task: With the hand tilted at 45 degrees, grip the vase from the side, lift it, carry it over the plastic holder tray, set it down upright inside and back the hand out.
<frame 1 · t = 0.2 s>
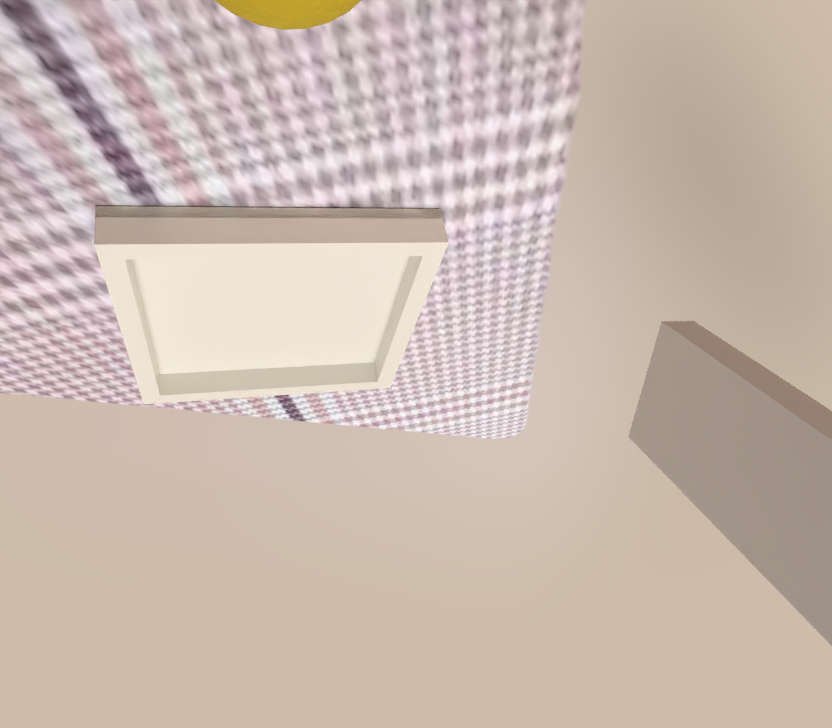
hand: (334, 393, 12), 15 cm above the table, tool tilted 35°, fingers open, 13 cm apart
holder tray: (274, 301, 36), on the table
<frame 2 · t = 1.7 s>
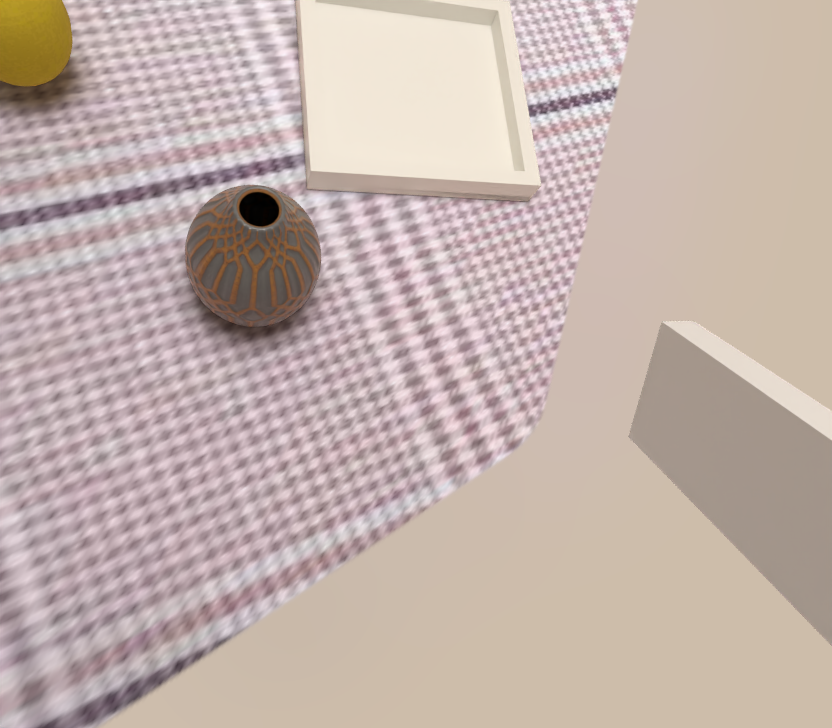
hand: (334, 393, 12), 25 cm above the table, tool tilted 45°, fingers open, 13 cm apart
vase: (251, 286, 39), on the table
holder tray: (411, 98, 46), on the table
lemon: (32, 77, 39), on the table
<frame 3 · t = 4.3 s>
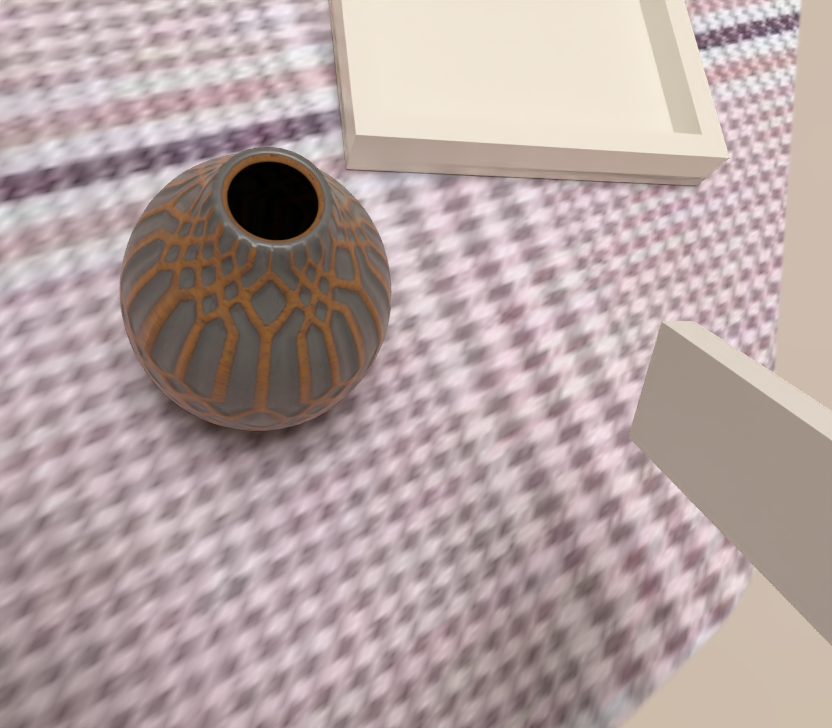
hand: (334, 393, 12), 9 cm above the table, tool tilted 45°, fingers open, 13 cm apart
vase: (255, 345, 21), on the table
holder tray: (505, 22, 28), on the table
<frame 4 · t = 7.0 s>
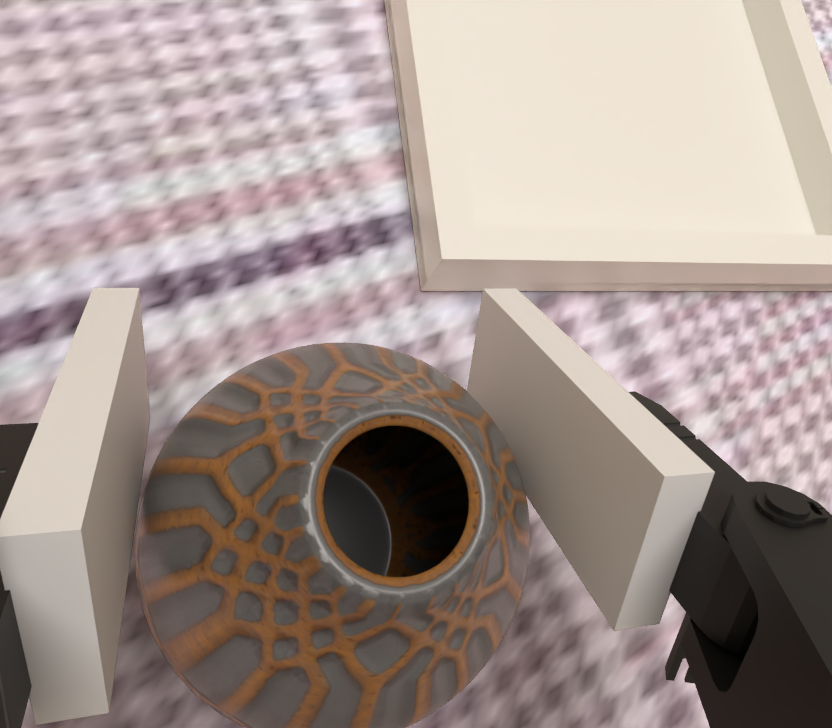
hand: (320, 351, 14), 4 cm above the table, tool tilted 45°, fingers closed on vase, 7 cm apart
vase: (311, 544, 16), on the table, touching gripper
holder tray: (604, 89, 23), on the table
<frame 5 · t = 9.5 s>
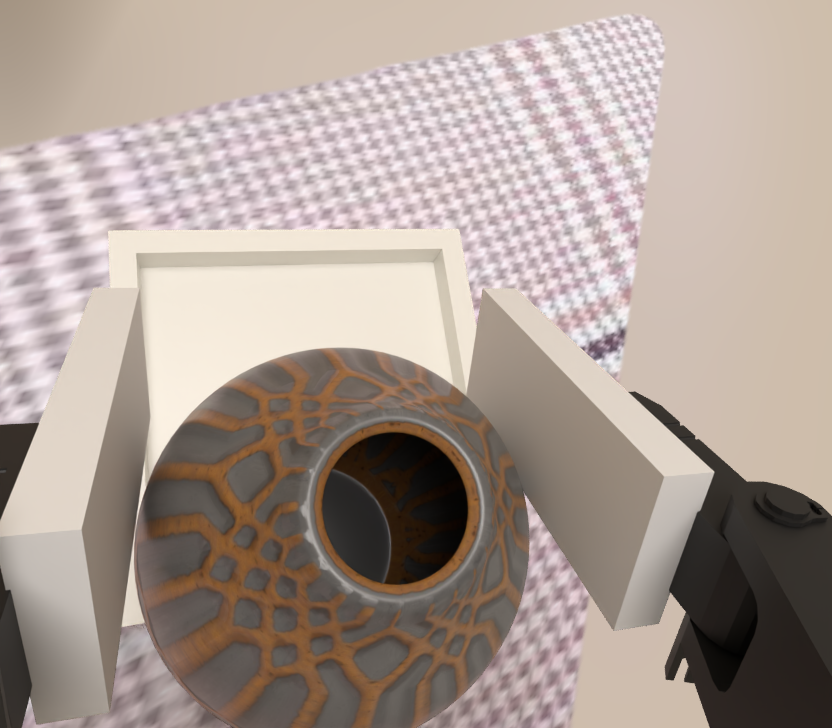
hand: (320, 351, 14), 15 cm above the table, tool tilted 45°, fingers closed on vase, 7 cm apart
vase: (310, 548, 16), point 12 cm above the table, touching gripper
holder tray: (309, 408, 29), on the table
when the fingers open (5 cm above the table, at t = 12.5 s): vase drops 1 cm, resting on holder tray.
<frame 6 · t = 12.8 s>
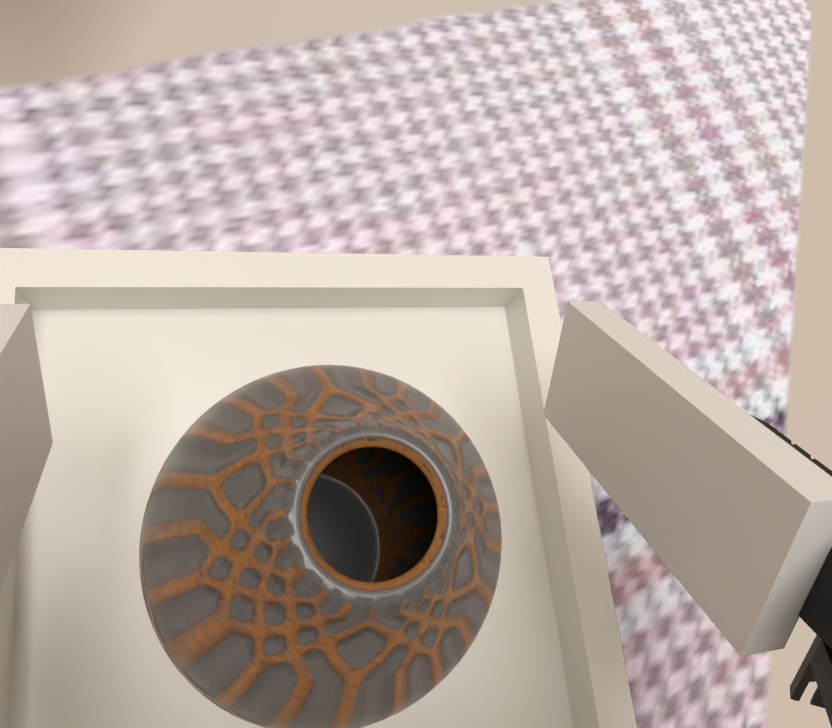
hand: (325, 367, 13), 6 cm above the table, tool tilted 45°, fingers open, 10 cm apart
vase: (303, 549, 17), resting on holder tray
holder tray: (304, 547, 18), on the table
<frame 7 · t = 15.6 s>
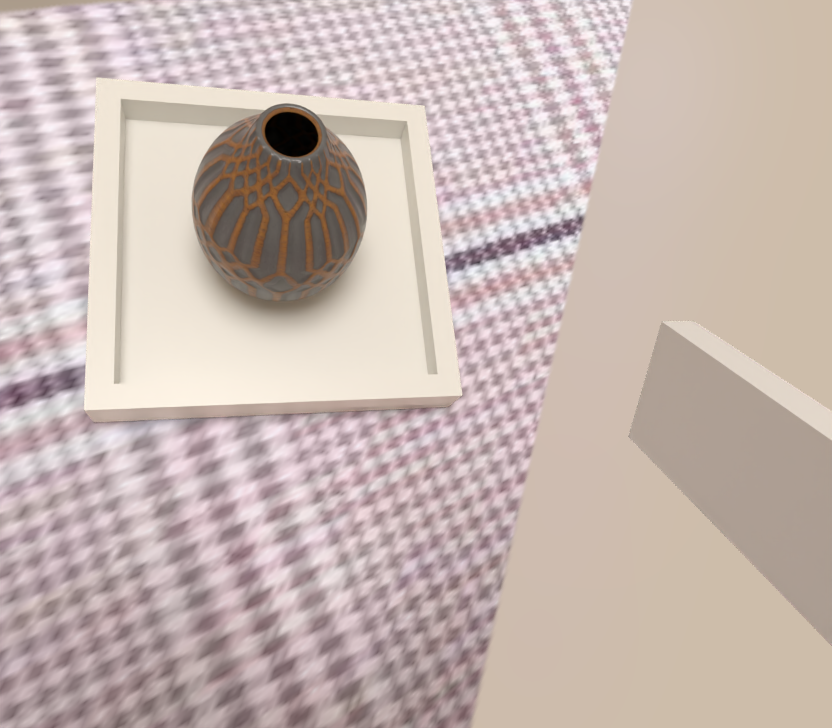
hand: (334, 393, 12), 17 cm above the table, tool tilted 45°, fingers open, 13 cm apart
vase: (275, 254, 31), resting on holder tray
holder tray: (275, 256, 31), on the table
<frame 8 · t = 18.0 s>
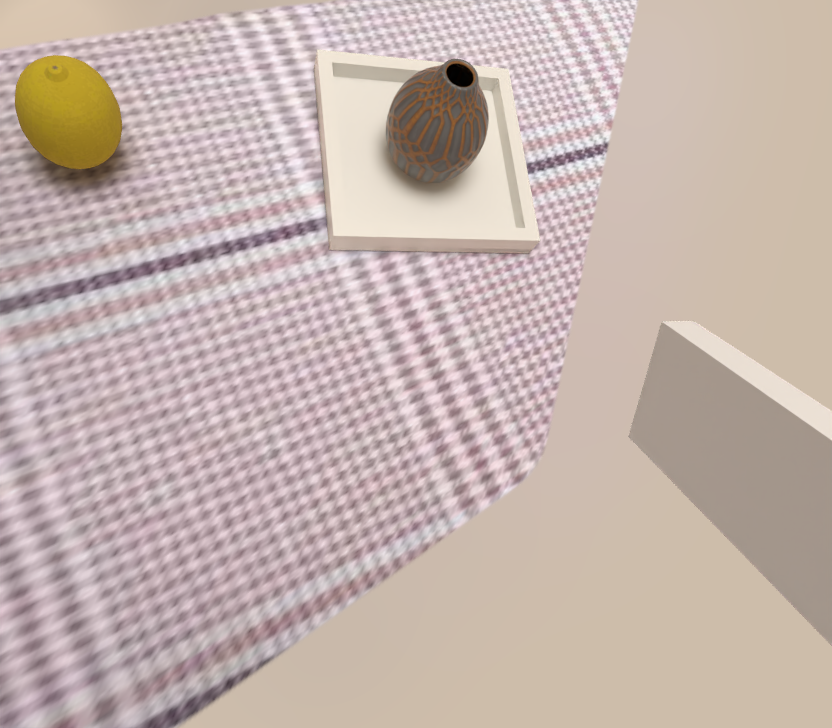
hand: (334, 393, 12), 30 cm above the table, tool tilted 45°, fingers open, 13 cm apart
vase: (422, 158, 50), resting on holder tray
holder tray: (421, 161, 50), on the table
lemon: (84, 157, 44), on the table
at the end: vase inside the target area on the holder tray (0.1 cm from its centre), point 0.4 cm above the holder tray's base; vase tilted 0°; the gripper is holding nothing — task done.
